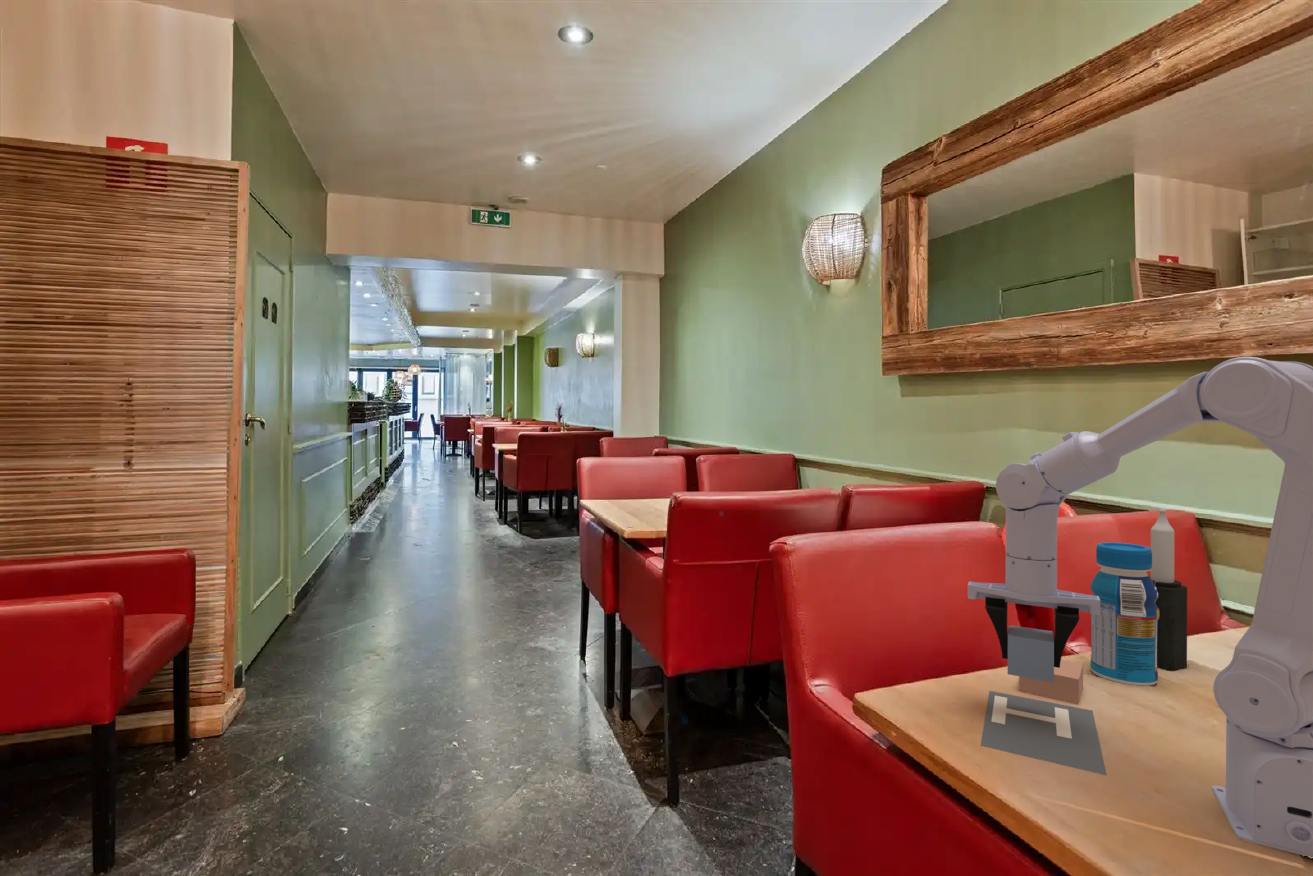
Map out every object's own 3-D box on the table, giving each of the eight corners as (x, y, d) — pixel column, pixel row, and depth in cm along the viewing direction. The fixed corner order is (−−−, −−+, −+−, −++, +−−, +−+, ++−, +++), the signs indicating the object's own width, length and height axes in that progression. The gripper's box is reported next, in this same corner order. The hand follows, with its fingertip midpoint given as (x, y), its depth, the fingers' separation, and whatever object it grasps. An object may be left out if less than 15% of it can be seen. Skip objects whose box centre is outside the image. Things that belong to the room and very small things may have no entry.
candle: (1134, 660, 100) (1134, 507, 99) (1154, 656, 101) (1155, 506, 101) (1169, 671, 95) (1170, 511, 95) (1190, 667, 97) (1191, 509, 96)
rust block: (1078, 708, 83) (1078, 679, 83) (1019, 694, 87) (1019, 667, 87) (1083, 691, 88) (1083, 664, 88) (1026, 679, 93) (1026, 653, 92)
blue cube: (1053, 682, 76) (1053, 642, 76) (1007, 674, 79) (1007, 635, 79) (1052, 669, 80) (1052, 631, 80) (1008, 661, 83) (1008, 625, 83)
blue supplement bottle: (1078, 673, 94) (1078, 543, 94) (1105, 663, 98) (1106, 539, 98) (1142, 693, 87) (1143, 553, 87) (1170, 681, 91) (1170, 547, 91)
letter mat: (1106, 778, 65) (1106, 775, 65) (980, 748, 72) (980, 745, 72) (1092, 712, 81) (1092, 710, 81) (989, 692, 87) (989, 690, 87)
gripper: (1096, 556, 79) (1096, 661, 79) (970, 546, 86) (970, 641, 87) (1102, 567, 73) (1101, 680, 73) (966, 554, 80) (966, 657, 81)
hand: (1030, 660), depth 79 cm, fingers closed on blue cube, 5 cm apart
